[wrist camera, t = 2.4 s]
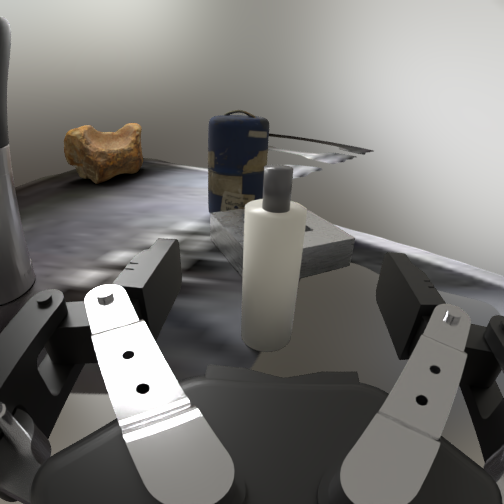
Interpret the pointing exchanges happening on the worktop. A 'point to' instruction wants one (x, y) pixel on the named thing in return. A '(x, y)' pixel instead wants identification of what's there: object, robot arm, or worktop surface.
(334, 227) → the grey square socket block
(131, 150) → the rough brown rock
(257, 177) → the canister
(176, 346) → the worktop surface
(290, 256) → the capped white bottle
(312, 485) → the robot arm
